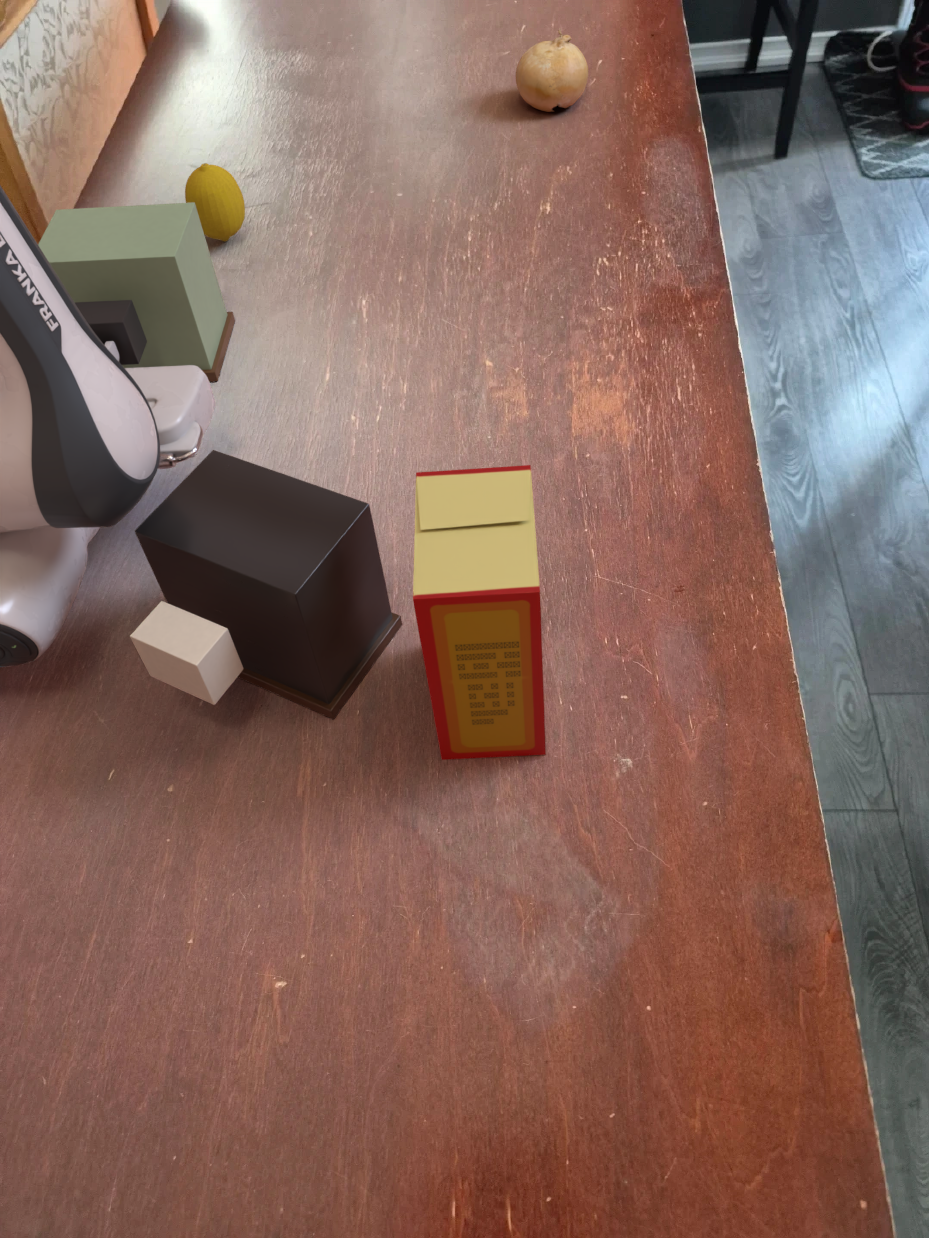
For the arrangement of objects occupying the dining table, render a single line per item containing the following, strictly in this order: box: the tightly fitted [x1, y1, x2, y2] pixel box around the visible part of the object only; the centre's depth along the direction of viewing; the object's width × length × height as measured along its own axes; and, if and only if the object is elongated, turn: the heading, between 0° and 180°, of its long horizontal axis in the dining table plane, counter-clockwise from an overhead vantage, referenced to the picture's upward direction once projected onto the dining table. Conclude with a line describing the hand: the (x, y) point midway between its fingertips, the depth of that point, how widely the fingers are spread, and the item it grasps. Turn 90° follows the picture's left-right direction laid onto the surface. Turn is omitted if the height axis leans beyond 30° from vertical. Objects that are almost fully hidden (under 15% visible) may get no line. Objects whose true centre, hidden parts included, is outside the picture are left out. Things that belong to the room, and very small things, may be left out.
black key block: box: [134, 449, 403, 720], centre depth 69 cm, size 9×13×12 cm
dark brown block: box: [74, 300, 147, 365], centre depth 85 cm, size 3×5×4 cm, turn 88°
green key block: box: [37, 202, 236, 382], centre depth 92 cm, size 9×13×12 cm
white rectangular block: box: [129, 600, 244, 706], centre depth 64 cm, size 3×5×4 cm, turn 61°
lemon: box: [184, 162, 246, 243], centre depth 104 cm, size 6×6×8 cm
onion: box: [515, 27, 589, 113], centre depth 117 cm, size 8×8×7 cm
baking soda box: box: [412, 464, 547, 761], centre depth 64 cm, size 10×6×16 cm
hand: (99, 348), depth 84 cm, fingers closed
